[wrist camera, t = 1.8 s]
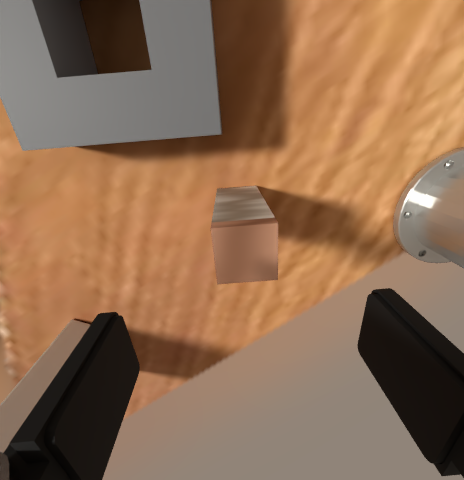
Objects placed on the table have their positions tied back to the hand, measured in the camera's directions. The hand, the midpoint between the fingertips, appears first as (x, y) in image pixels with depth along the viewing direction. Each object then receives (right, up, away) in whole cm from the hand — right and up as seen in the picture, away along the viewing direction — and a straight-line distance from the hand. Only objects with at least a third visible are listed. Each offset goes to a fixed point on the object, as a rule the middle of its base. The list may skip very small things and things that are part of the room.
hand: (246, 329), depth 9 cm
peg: (0, +7, +16) cm, 17 cm away
